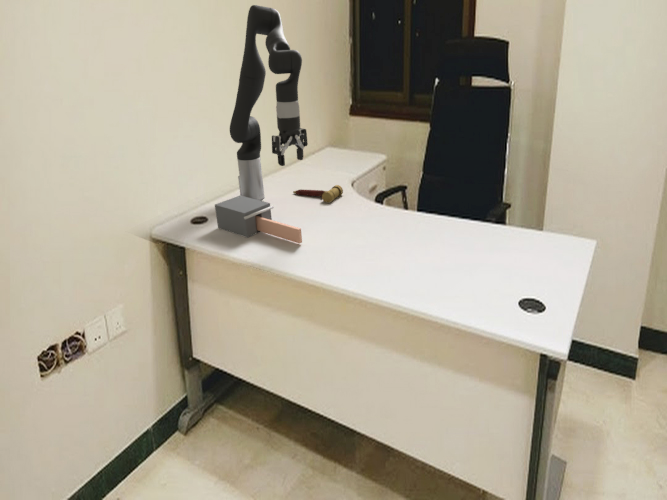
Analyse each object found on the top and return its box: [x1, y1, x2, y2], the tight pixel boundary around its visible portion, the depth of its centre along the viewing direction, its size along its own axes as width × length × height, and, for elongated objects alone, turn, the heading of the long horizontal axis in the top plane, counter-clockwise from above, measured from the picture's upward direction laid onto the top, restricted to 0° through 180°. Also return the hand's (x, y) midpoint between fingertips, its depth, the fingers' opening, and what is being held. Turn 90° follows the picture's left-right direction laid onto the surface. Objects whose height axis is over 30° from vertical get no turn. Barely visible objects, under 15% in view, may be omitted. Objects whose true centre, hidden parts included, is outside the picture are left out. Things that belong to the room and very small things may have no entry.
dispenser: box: [214, 195, 274, 238], centre depth 202 cm, size 17×13×9 cm
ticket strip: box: [255, 215, 303, 244], centre depth 193 cm, size 23×1×5 cm, turn 50°
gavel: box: [292, 184, 344, 203], centre depth 232 cm, size 21×5×10 cm
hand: (291, 162), depth 191 cm, fingers open, 8 cm apart
